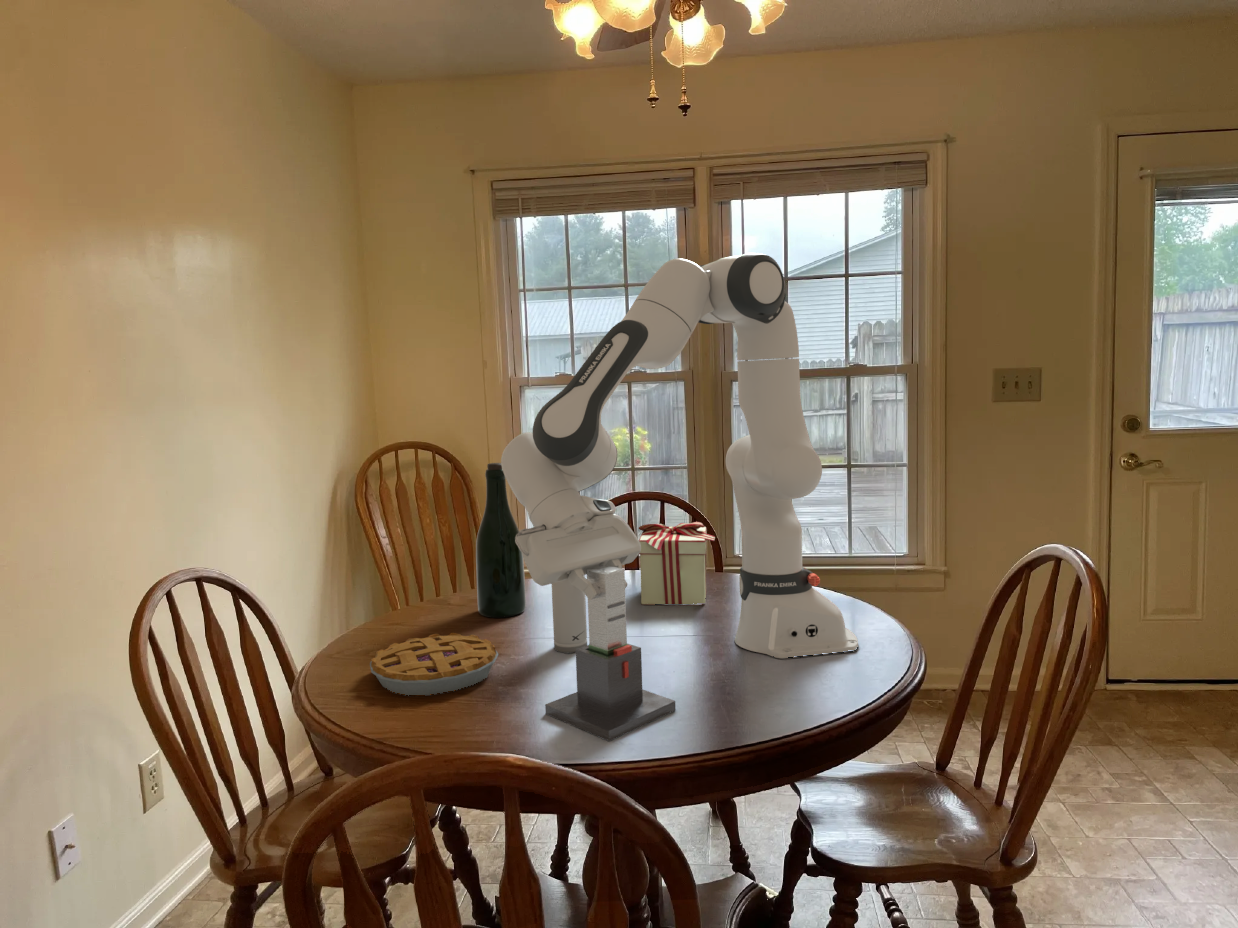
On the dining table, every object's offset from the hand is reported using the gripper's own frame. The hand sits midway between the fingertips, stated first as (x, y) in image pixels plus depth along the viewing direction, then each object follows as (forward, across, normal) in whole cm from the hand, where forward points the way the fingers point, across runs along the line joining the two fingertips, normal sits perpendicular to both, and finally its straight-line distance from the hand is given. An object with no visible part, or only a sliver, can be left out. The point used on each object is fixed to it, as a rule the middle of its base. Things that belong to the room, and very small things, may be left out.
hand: (609, 592), depth 121 cm
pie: (-11, -9, +38) cm, 41 cm away
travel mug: (-6, +15, +33) cm, 37 cm away
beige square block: (+9, 0, +10) cm, 14 cm away
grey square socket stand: (+13, 0, +14) cm, 19 cm away
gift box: (-11, +54, +38) cm, 67 cm away
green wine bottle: (-27, +21, +54) cm, 64 cm away
